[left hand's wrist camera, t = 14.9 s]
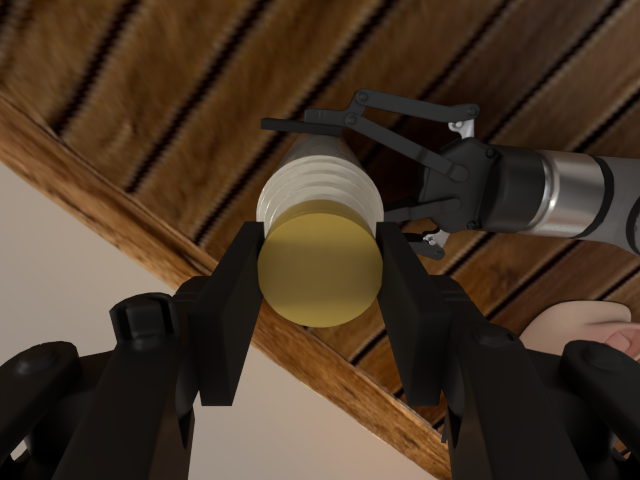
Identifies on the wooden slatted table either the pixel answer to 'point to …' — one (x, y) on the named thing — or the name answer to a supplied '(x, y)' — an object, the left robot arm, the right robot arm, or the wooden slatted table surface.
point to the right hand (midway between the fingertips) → (262, 167)
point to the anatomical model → (583, 327)
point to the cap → (320, 264)
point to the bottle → (320, 180)
